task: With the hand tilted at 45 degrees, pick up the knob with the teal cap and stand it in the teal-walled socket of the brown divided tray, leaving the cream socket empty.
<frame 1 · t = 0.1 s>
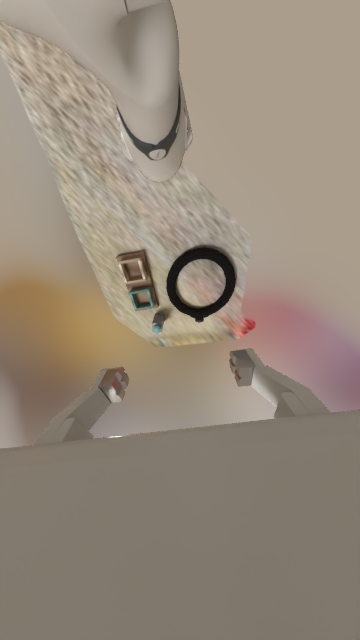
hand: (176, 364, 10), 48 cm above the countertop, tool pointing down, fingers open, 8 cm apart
knob: (159, 318, 63), on the countertop
brown divided tray: (139, 283, 55), on the countertop
cable lock: (199, 287, 57), on the countertop
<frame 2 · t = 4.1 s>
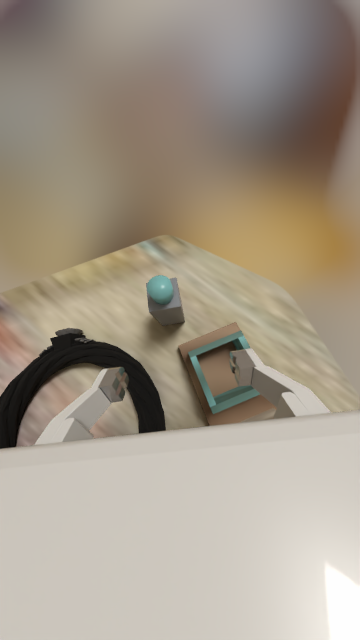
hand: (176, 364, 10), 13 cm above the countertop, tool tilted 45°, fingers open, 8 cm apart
knob: (172, 313, 25), on the countertop
brown divided tray: (237, 402, 20), on the countertop
cable lock: (83, 420, 22), on the countertop
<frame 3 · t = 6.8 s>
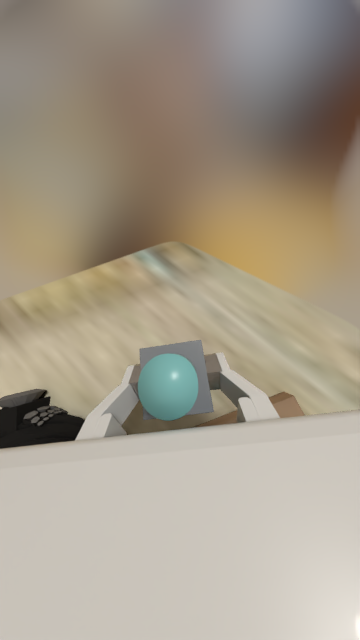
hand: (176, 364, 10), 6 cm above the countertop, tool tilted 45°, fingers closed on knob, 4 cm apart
knob: (183, 366, 16), on the countertop, touching gripper
brown divided tray: (301, 551, 11), on the countertop
cable lock: (36, 548, 13), on the countertop
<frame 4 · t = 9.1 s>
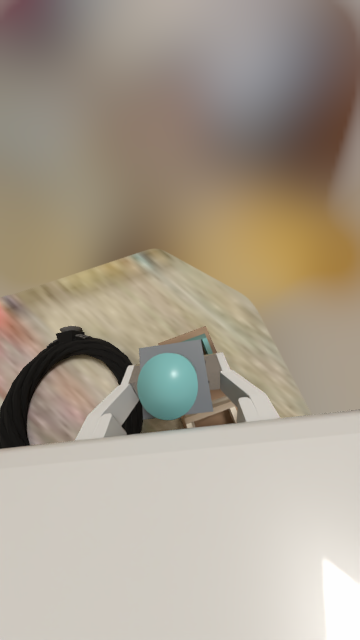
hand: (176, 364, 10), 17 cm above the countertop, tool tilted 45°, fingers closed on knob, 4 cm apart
knob: (183, 366, 16), point 11 cm above the countertop, touching gripper
brown divided tray: (202, 390, 25), on the countertop
cable lock: (80, 400, 27), on the countertop
when the fingers open (9 cm above the countertop, at t = 11.5 s): knob drops 1 cm, resting on brown divided tray.
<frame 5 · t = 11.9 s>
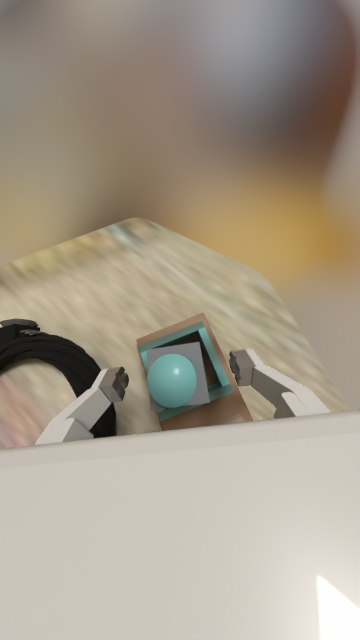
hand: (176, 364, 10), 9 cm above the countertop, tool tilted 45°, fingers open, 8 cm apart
knob: (184, 365, 17), point 1 cm above the countertop, touching brown divided tray
brown divided tray: (201, 406, 17), on the countertop
cable lock: (29, 422, 19), on the countertop
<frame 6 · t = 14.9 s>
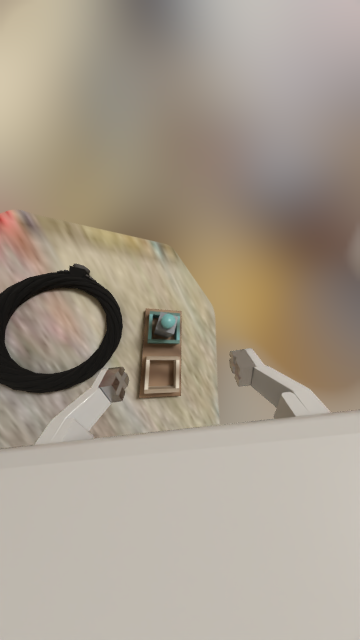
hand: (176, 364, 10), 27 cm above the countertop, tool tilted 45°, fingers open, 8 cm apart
knob: (163, 329, 37), point 1 cm above the countertop, touching brown divided tray
brown divided tray: (161, 350, 37), on the countertop
cable lock: (65, 323, 34), on the countertop
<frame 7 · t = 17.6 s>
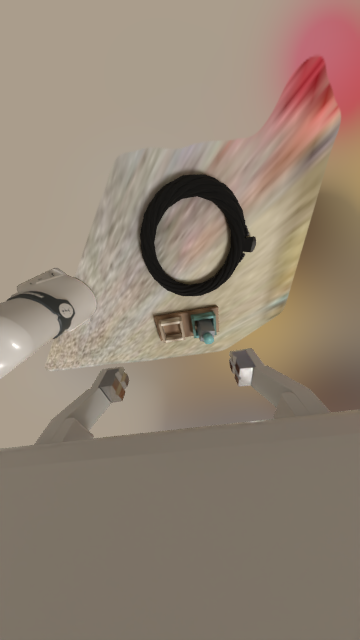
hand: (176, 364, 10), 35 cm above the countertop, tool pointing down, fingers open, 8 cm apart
knob: (202, 322, 48), point 1 cm above the countertop, touching brown divided tray
brown divided tray: (187, 323, 50), on the countertop
cable lock: (196, 246, 38), on the countertop
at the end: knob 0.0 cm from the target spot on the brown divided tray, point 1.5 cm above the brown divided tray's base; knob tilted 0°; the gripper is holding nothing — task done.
